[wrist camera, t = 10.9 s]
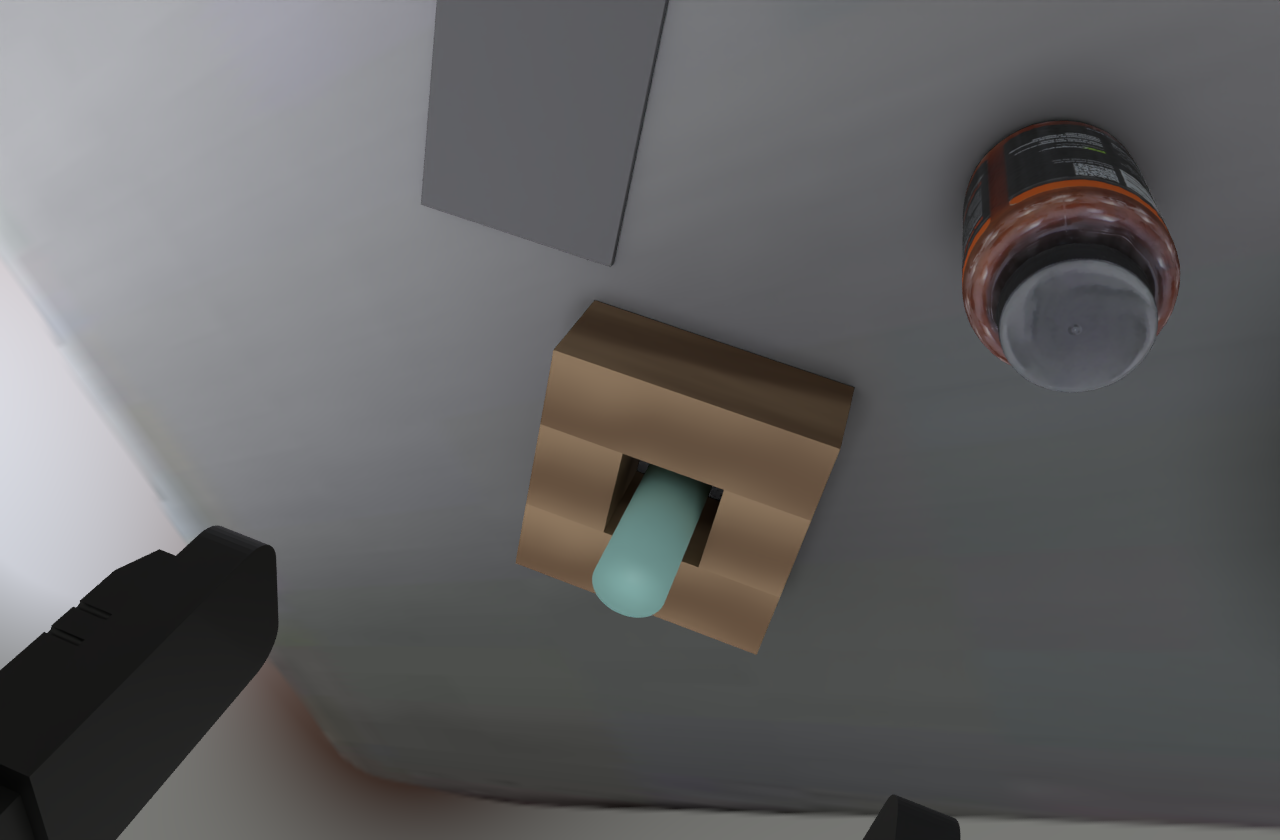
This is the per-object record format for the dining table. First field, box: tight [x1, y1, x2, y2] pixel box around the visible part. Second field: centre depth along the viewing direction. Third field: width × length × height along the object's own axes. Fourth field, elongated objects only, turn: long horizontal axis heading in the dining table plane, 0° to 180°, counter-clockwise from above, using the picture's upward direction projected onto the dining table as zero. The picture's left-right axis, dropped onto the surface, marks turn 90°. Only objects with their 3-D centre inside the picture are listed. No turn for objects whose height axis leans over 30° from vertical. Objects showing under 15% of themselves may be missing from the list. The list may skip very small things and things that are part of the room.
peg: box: [592, 464, 712, 618], centre depth 41 cm, size 3×3×10 cm
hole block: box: [516, 300, 854, 655], centre depth 43 cm, size 12×12×5 cm
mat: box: [421, 0, 668, 267], centre depth 39 cm, size 12×9×1 cm
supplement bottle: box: [962, 121, 1180, 392], centre depth 31 cm, size 6×6×11 cm
